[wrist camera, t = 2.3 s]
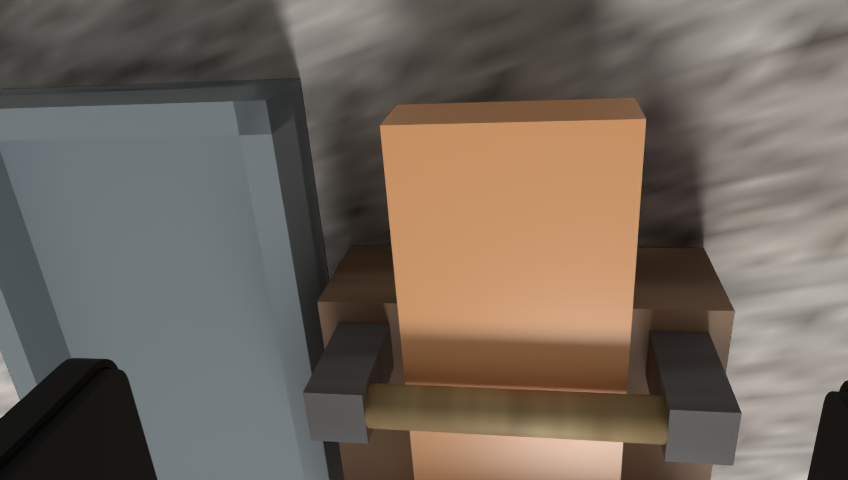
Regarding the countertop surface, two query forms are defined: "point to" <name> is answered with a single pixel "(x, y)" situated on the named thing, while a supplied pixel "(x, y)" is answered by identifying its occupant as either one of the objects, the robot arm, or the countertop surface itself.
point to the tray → (171, 263)
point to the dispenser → (533, 409)
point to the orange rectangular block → (515, 265)
